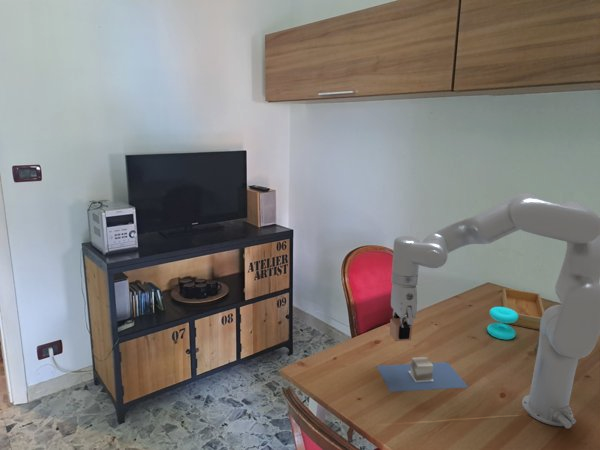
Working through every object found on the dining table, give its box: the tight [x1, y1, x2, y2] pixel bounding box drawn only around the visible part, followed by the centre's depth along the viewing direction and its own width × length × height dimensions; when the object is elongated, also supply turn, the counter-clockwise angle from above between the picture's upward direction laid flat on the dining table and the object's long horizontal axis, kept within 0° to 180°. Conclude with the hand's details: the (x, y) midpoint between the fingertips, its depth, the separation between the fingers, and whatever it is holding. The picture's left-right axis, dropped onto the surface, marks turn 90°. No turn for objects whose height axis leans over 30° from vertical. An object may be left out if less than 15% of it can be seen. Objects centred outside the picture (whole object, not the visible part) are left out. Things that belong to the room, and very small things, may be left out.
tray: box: [501, 287, 545, 331], centre depth 183 cm, size 31×15×6 cm, turn 155°
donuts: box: [486, 306, 518, 341], centre depth 162 cm, size 10×10×10 cm
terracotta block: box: [389, 317, 413, 342], centre depth 128 cm, size 5×5×5 cm
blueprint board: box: [376, 361, 469, 393], centre depth 134 cm, size 14×25×1 cm, turn 97°
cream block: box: [410, 356, 433, 381], centre depth 133 cm, size 5×5×5 cm
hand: (400, 333), depth 129 cm, fingers closed on terracotta block, 4 cm apart
